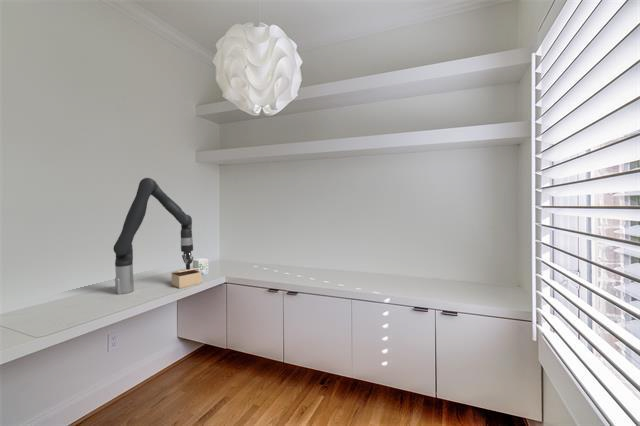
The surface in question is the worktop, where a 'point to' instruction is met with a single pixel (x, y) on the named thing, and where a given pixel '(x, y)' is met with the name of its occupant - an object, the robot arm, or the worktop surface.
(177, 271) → the lid
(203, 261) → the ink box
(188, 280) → the carton
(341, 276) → the worktop surface
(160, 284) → the worktop surface
